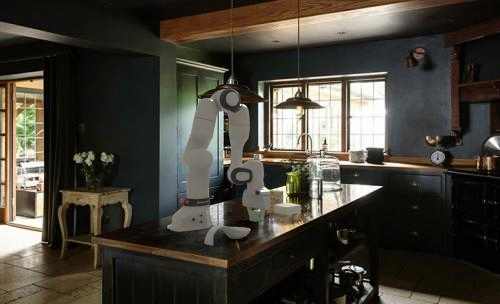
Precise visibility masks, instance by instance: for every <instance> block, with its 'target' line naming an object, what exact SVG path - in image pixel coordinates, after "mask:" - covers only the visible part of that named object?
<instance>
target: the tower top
mask: <svg viewBox="0 0 500 304" xmlns="http://www.w3.org/2000/svg"><path fill="white" fill-rule="evenodd" d="M274 212H275V213H280V214H284V215H290V214H296V213H301V214H302V205H301V204H296V203H291V202H283V204H276V205H274Z"/></svg>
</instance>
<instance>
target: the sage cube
mask: <svg viewBox="0 0 500 304" xmlns="http://www.w3.org/2000/svg"><path fill="white" fill-rule="evenodd" d="M251 210H252V209H251ZM259 214H261V211H260V209H254V210H252V211H249V212H248V216H249V219H248V220H249V221H251V222H262V221H264V218H260V217H259Z"/></svg>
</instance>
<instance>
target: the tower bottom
mask: <svg viewBox="0 0 500 304" xmlns="http://www.w3.org/2000/svg"><path fill="white" fill-rule="evenodd" d="M273 220H276V221H280V220H281V222H284V221H285V223H288V222H289V221H290V222H294V221H300V220H302V212H301V213H296V214H290V215H284V214H280V213H275V212H274V214H273ZM290 222H289V223H290Z"/></svg>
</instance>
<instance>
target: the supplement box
mask: <svg viewBox="0 0 500 304" xmlns="http://www.w3.org/2000/svg"><path fill="white" fill-rule="evenodd" d="M269 190H270V195H269V196H270V200H271V207H270V209H269V210H267V214H270V215H274V205H276V204H284V190H274V189H269Z"/></svg>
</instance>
